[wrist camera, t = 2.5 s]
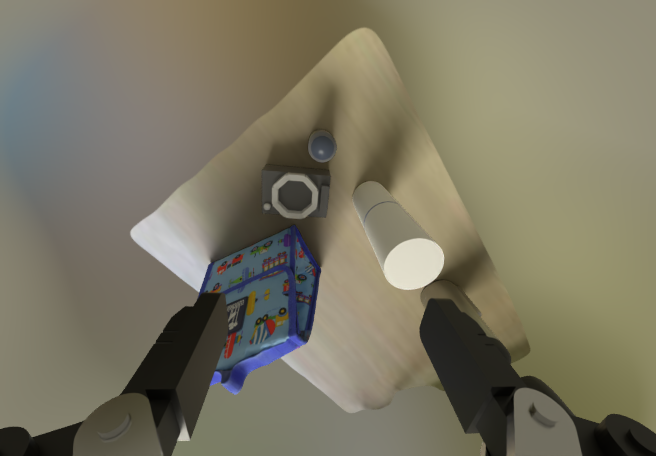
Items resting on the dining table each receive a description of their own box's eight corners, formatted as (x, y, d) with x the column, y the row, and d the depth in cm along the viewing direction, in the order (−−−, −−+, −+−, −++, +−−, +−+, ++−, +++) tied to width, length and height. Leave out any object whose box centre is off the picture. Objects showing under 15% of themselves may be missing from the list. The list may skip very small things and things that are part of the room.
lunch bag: (294, 222, 54) (278, 328, 27) (322, 269, 59) (330, 396, 33) (208, 261, 56) (119, 392, 30) (242, 303, 62) (191, 444, 36)
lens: (334, 130, 46) (338, 134, 38) (331, 155, 48) (335, 164, 40) (309, 128, 46) (309, 131, 38) (308, 153, 48) (307, 161, 40)
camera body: (328, 170, 49) (331, 178, 43) (324, 208, 53) (326, 221, 47) (266, 164, 48) (259, 172, 42) (266, 204, 51) (260, 216, 45)
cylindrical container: (371, 173, 50) (420, 226, 27) (393, 197, 52) (455, 264, 30) (345, 198, 52) (371, 266, 29) (367, 220, 54) (407, 299, 32)
